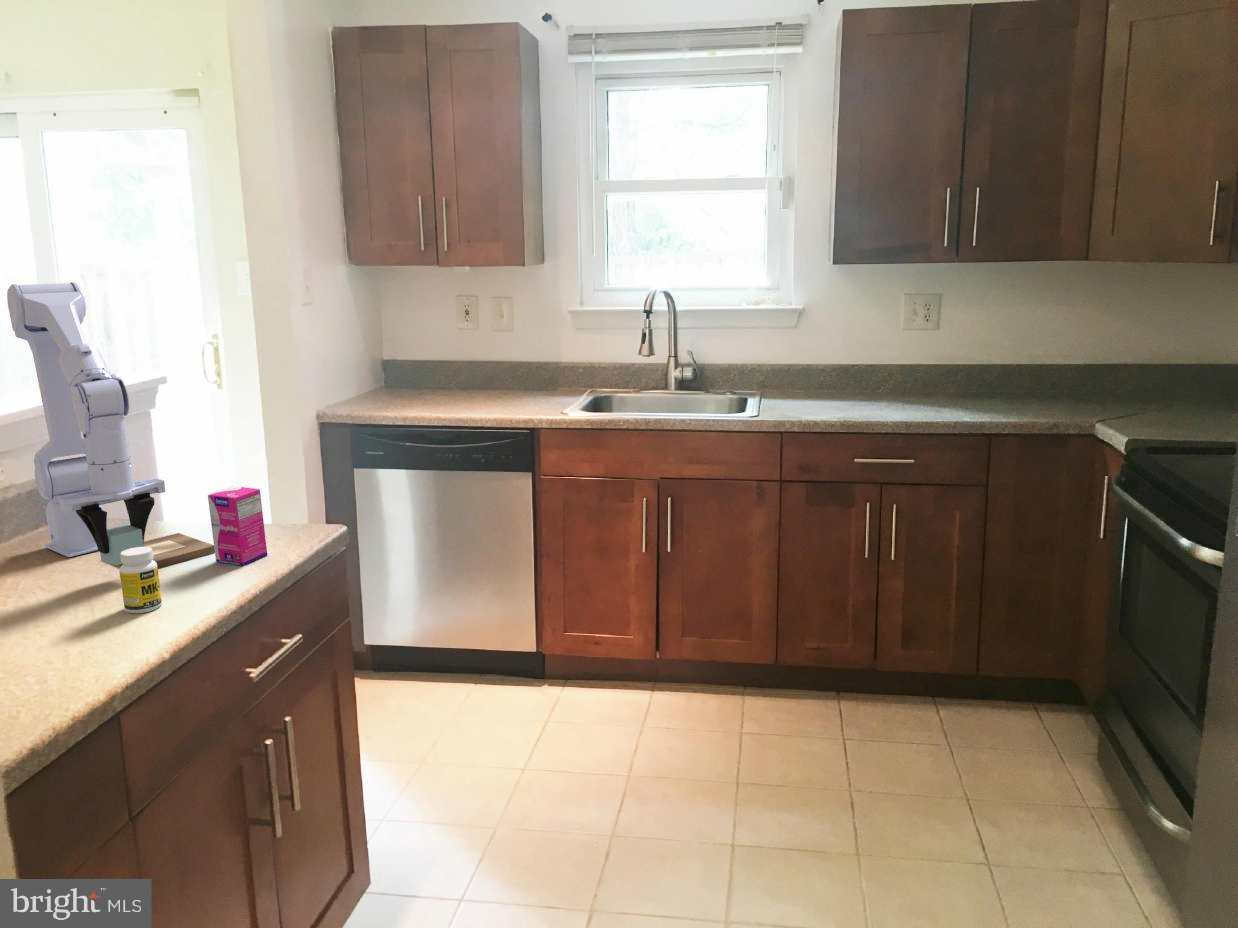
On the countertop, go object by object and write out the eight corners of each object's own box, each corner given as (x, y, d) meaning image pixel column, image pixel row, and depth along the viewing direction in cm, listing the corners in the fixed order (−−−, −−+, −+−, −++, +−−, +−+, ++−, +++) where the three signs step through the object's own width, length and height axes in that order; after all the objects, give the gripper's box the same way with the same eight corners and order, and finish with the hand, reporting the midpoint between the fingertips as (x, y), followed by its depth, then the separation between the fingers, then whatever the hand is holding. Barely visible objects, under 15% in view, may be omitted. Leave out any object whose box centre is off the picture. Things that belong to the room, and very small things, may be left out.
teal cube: (101, 559, 143) (97, 531, 142) (131, 552, 146) (127, 524, 145) (114, 565, 140) (110, 536, 139) (145, 557, 143) (141, 529, 142)
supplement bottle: (147, 615, 129) (138, 557, 127) (117, 613, 130) (108, 555, 128) (169, 602, 134) (162, 546, 132) (140, 600, 135) (132, 544, 133)
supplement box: (214, 562, 151) (205, 493, 148) (241, 551, 156) (233, 485, 153) (242, 567, 148) (234, 497, 146) (269, 555, 154) (261, 487, 151)
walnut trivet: (107, 557, 154) (106, 550, 154) (179, 539, 163) (178, 532, 163) (142, 572, 147) (141, 564, 146) (215, 552, 156) (214, 544, 155)
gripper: (68, 474, 131) (82, 565, 135) (170, 455, 143) (181, 540, 146) (47, 467, 136) (61, 556, 139) (147, 449, 147) (159, 532, 150)
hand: (121, 547), depth 143 cm, fingers closed on teal cube, 4 cm apart
